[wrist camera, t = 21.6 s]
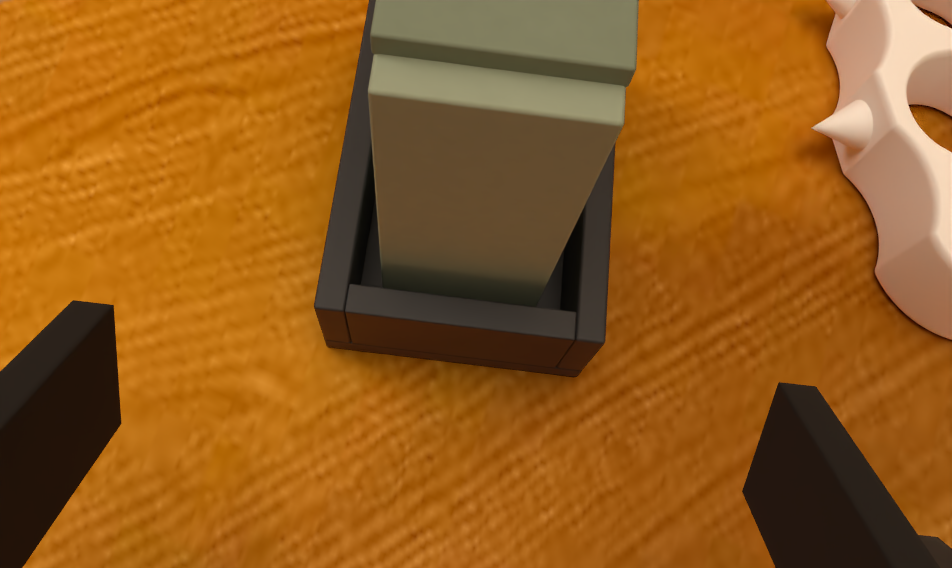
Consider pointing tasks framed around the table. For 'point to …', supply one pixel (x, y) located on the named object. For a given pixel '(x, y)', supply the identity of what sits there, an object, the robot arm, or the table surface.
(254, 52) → the table surface
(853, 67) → the knuckle duster
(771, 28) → the table surface
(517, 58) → the grey-green lidded box
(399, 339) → the socket
